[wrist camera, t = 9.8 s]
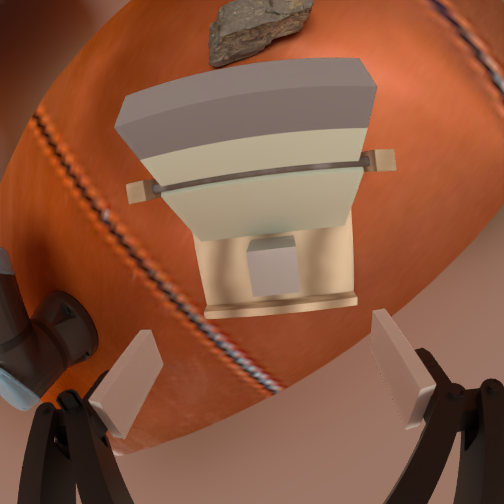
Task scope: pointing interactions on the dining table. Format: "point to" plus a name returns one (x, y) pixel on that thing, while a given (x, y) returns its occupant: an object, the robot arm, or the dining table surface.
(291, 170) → the stand
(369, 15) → the dining table surface
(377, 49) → the dining table surface
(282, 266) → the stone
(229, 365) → the dining table surface
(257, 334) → the dining table surface
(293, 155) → the flap
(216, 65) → the rock
